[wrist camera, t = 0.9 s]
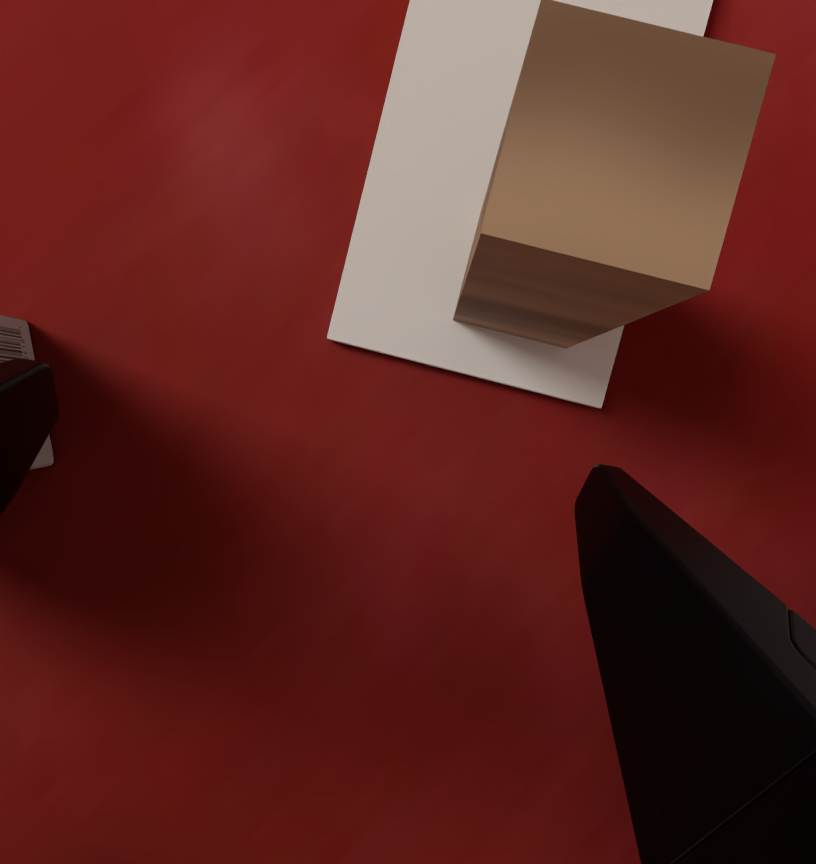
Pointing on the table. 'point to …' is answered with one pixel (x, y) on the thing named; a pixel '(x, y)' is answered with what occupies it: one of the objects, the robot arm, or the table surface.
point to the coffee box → (12, 341)
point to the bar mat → (459, 196)
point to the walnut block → (610, 176)
